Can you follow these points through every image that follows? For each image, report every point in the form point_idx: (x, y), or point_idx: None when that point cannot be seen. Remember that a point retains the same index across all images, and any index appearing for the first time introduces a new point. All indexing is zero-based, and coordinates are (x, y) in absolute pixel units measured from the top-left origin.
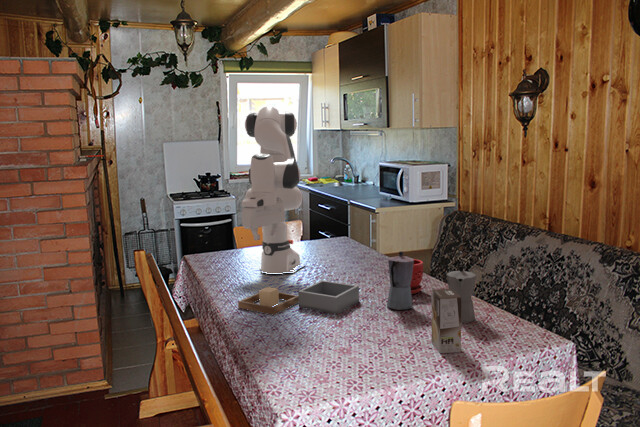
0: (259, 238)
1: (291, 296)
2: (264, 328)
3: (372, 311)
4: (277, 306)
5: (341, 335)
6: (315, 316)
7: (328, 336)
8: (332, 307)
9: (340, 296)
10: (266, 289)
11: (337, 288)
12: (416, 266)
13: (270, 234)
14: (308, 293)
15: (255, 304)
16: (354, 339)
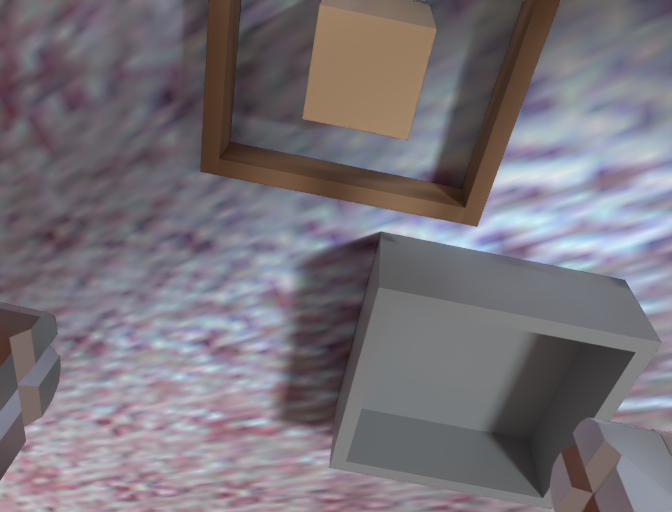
0: (23, 406)
1: (474, 173)
2: (31, 192)
3: (413, 492)
4: (244, 179)
5: (139, 454)
6: (280, 339)
7: (108, 425)
8: (337, 410)
9: (367, 470)
10: (364, 55)
11: (579, 403)
12: None
13: (599, 431)
14: (362, 344)
15: (213, 22)
16: (130, 486)
